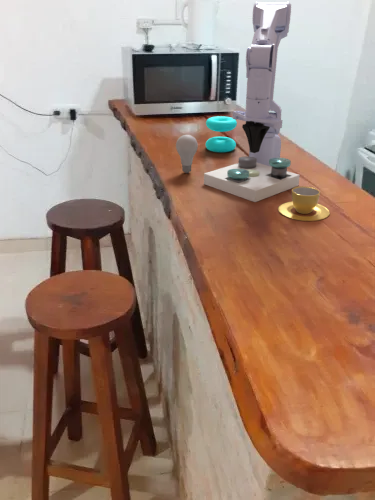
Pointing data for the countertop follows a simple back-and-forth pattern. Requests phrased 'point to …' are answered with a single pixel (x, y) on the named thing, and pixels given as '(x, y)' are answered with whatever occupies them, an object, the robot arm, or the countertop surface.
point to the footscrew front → (238, 175)
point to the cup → (304, 204)
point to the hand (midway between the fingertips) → (254, 151)
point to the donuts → (221, 142)
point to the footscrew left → (279, 167)
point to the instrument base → (251, 180)
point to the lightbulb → (186, 151)
